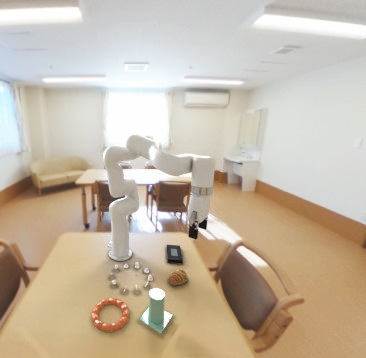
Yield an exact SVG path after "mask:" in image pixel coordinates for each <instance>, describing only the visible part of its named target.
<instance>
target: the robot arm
mask: <svg viewBox="0 0 366 358" xmlns="http://www.w3.org/2000/svg"><path fill="white" fill-rule="evenodd" d="M140 157H141V158H143V159H146V160H148V161H150V163H151V165H152V166H153V167H154V168H155V169H157V170H158V171H160V172H162V173H164V174H166V175H169V176H171V177H179V176H183V175H187V174H190V173H191V180H190V193H189V194H190V197H189V203H188V209H187V221H188V238H190V239H193V240H198V237H199V229H201V230H207V229H208V218H209V217H208V216H209V213H210V204H211V203H210V202H211V197H212V196H213V192H214V191H213V190H214V180H215V179H214V178H215V169H216V159H215V158H214V157H213V156H209V155H198V154H193V153H180V154H176V155H175V154H172V153H170V152H167V151H164V150H163V145H162V143H161V142H159V141H158V140H155V139H154V137H153V136H152V135H151V134H149V133H145V132H141V133H140V132H138V133H131V134H129V135H128V136H127V137H126V138H125V140H124V143H120V144H118V143H117V144H111V145H109V146H108V147H107V148H105V150H104V152H103V155H102V160H103V165H104V167H105V171H106V178H107V184H108V190H109V195H110V196H111V198H116V200H114V201H112V202H111V203H110V204H109V205H108V206H109V207H108V213H109V218H110V225H111V226H110V229H111V230H110V231H111V241H108V244H107V246H106V247H107V248H109V251H108V256H109V258H110V259H112V260H114V261H116V262H117V261H118V262H124V261H127V260H130V258H131V257H132V255H133V251H132V250H131V249H130V222H129V221H128V219H127V217H128V216H130V215H133V214H135V213H136V212H138V210H140V209H139V208H140V197H139V190H138V183H137V182H136V180H135V179H134V177H131V176H125V175H124V169H123V167H122V165H121V164H120V163H121V162H128V161H129V162H130V161H133V160H134V161H135V160H136V159H138V158H140ZM117 198H118V199H117Z"/></svg>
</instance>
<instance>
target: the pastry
mask: <svg viewBox="0 0 366 358" xmlns="http://www.w3.org/2000/svg"><path fill="white" fill-rule="evenodd" d="M188 280H189V276H188V274H187V272H186V271H185V270H184V269H181V268H179V269H177V270H174V271H173V272H172V273H171V274H170V275H169V277H168V284H170V285H171V286H174V287H177V286H181V285H183V284H185V283H187V281H188Z"/></svg>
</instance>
